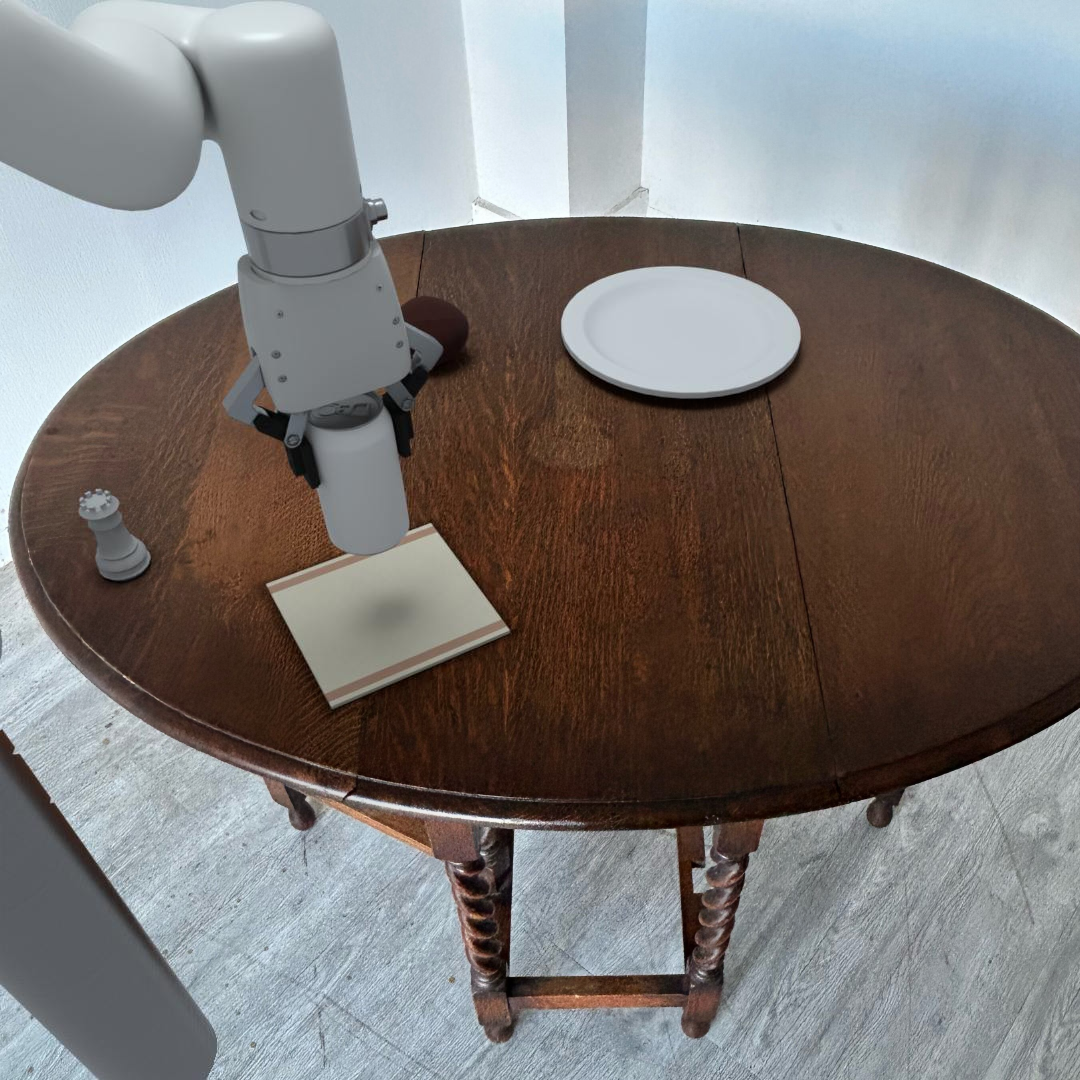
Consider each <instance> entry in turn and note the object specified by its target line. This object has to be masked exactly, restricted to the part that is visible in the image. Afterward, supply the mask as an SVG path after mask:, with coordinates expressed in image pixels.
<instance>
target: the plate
mask: <svg viewBox="0 0 1080 1080" xmlns="http://www.w3.org/2000/svg"><path fill="white" fill-rule="evenodd" d="M785 302H786V301H785ZM785 302H784V300H783V299H781V298H780V297H779V296H778V295H776V294H775V293H773V291H770V290H769V289H767V288H765V287H763V286H762V285H760V284H758V283H755V282H753V281H751V280H749V279H747V278H744V277H740V276H737V275H734V274H731V273H727V272H723V271H718V270H714V269H708V268H703V267H695V266H694V267H692V266H680V265H677V266H676V265H675V266H674V265H671V266H670V265H668V266H667V265H666V266H650V267H641V268H636V269H635V268H634V269H629V270H625V271H621V272H617V273H614V274H611V275H608V276H605V277H603V278H600V279H598V280H596V281H594V282H593V283H590V284H589V285H587V286H585V287H584V288H583V289H581V290H580V291H578V292H577V293H576V294H575V295H574V296H573V297H572V298H571V299H570V300H569V301H568V303H567V304H566V307H565V308H564V309H563V313H562V316H561V319H560V329H561V330H560V332H561V338H562V342H563V345H564V347H565V349H566V350H567V352H568V354H569V355H570V357H572V358H573V359H574V360H575V361H576V363H577V364H578V365H580V366H581V367H582V368H583V369H585V370H586V371H587V372H589V373H590V374H592V375H594V376H595V377H598V378H599V379H601V380H603V381H605V382H607V383H609V384H612V385H614V386H617V387H619V388H622V389H625V390H628V391H632V392H636V393H640V394H643V395H648V396H649V395H650V396H655V397H661V398H671V399H672V398H673V399H707V398H717V397H725V396H730V395H734V394H740V393H743V392H747V391H749V390H753V389H755V388H758V387H759V386H762V385H765V384H767V383H769V382H770V381H772V380H773V379H775V378H777V377H778V376H779V375H781V374H782V373H784V372H785V371H786V370H787V369H788V368H789V367H790V366H791V365H792V363H794V360H795V358H796V357H797V355H798V353H799V349H800V345H801V340H802V336H801V335H802V334H801V327H800V323H799V321H798V318H797V316H796V315H795V313H794V311H793V310H792V309H791V307H790V306H789V305H787V303H785Z"/></svg>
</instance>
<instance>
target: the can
mask: <svg viewBox="0 0 1080 1080" xmlns="http://www.w3.org/2000/svg"><path fill="white" fill-rule="evenodd" d="M304 435H305V436H306V438H307V439H308V441H309V442H310V444H311V447H312V450H313V454H314V458H315V462H316V466H317V470H318V474H319V478H320V482H321V485H319V488H316V492H317V496H318V500H319V504H320V508H321V512H322V516H323V520H324V523H325V527H326V531H327V534H328V538H329V540H330V541H331V543H332V544H333V545H334V546H335V547H336V548H337V549H339V550H341V551H343V552H345V553H346V554H348V553H350V554H353V555H360V556H369V555H376V554H380V553H383V552H386V551H388V550H390V549H392V548H393V547H395V546H396V545H397V544H399V543H400V542H401V540H402V539H403V538H404V537H405V535H406V534H407V532H408V531H409V529H410V517H409V510H408V504H407V498H406V492H405V485H404V480H403V474H402V469H401V463H400V458H399V457H400V455H399V453H398V450H397V445H396V439H395V433H394V428H393V423H392V419H391V416H390V413H389V412H388V410H387V409H386V408H385V407H384V405H383V400H382V395H381V394H380V393H379V392H377V390H373V391H370V392H367V393H364V394H361V395H357V396H354V397H351V398H348V399H344V400H341V401H338V402H335V403H331V404H328V405H325V406H322V407H318V408H315V409H312V410H309V414H308V418H307V422H306V426H305V430H304Z"/></svg>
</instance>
